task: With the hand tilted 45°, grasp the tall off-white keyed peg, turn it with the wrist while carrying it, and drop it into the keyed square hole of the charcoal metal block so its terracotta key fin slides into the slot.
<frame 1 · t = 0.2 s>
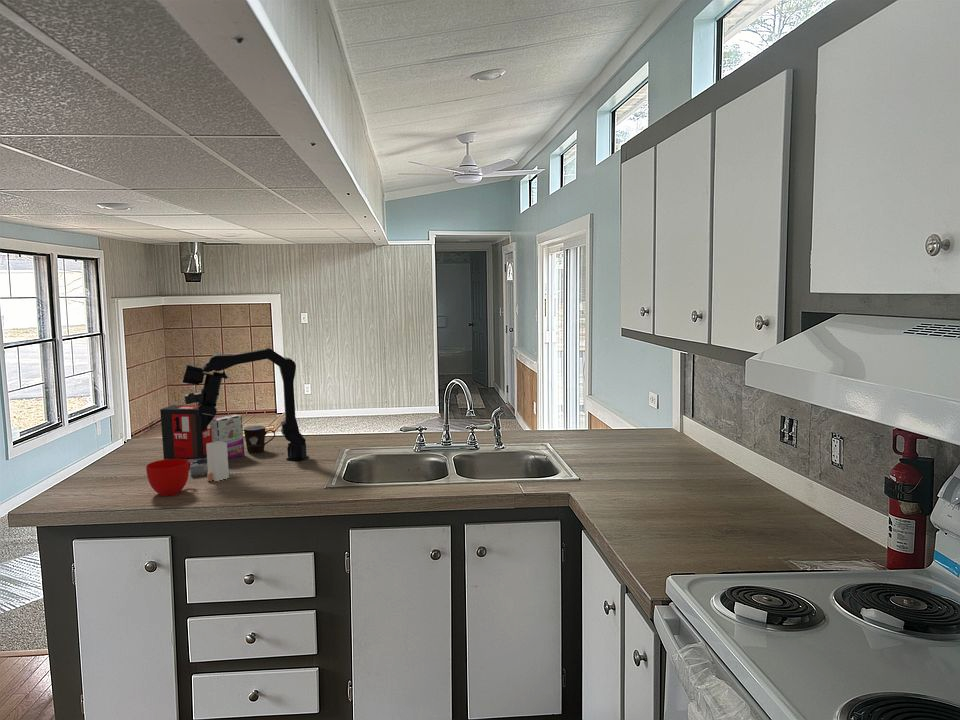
hand: (202, 428, 260), 15 cm above the worktop, tool tilted 15°, fingers open, 9 cm apart
ceramic cup: (173, 491, 235), on the worktop
keyed peg: (218, 479, 248), on the worktop
candy bar box: (229, 458, 278), on the worktop
coffee mug: (259, 452, 286), on the worktop
cleaning product box: (189, 456, 281), on the worktop
keyed socket block: (207, 470, 260), on the worktop
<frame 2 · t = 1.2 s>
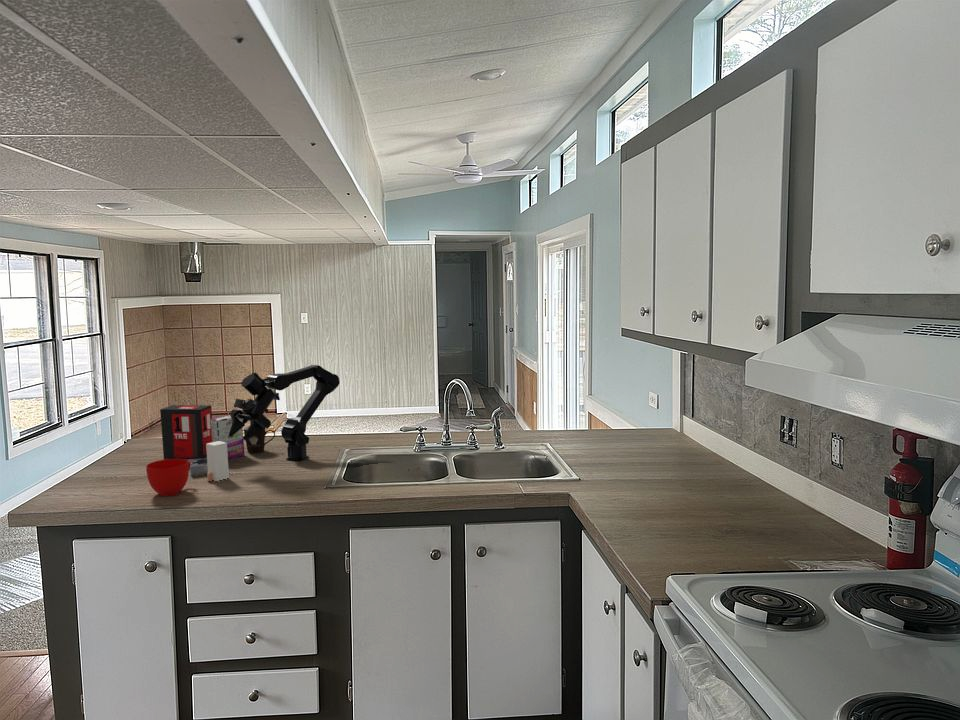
hand: (236, 437, 253), 13 cm above the worktop, tool tilted 45°, fingers open, 9 cm apart
nothing on the worktop moved.
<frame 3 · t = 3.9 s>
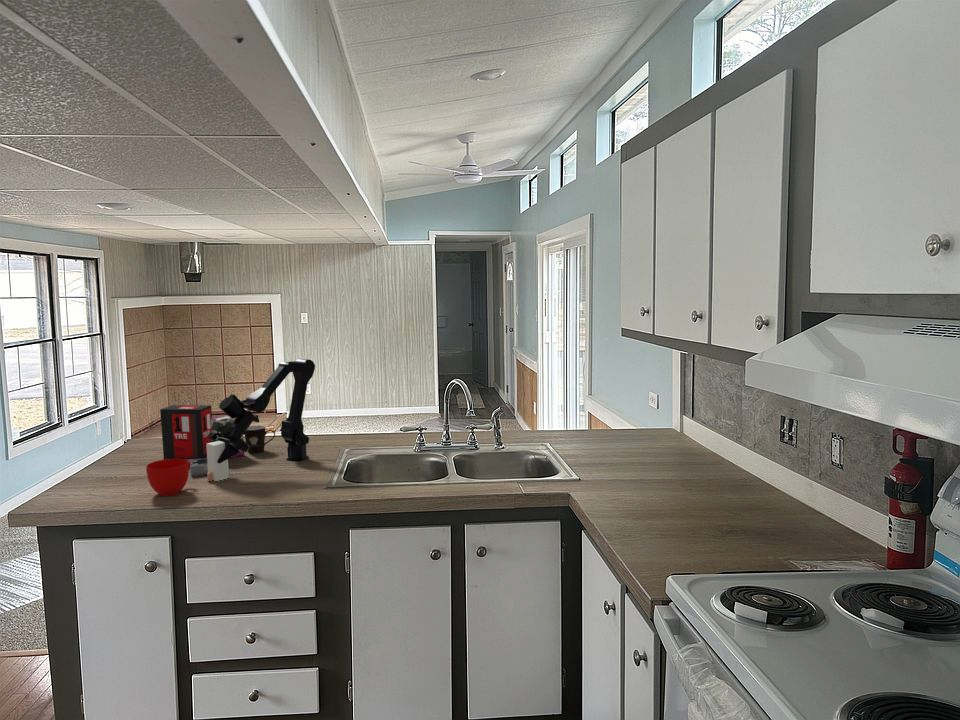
hand: (213, 461, 246), 7 cm above the worktop, tool tilted 45°, fingers closed on keyed peg, 5 cm apart
keyed peg: (218, 479, 248), on the worktop, touching gripper
everything else where it was.
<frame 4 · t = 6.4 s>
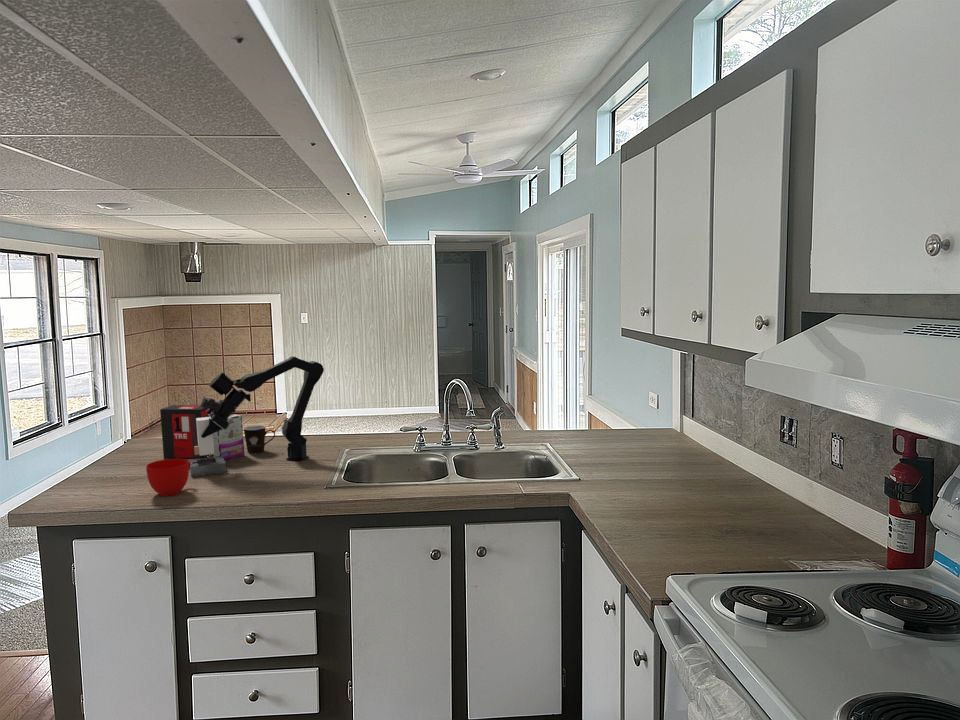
hand: (201, 435, 257), 13 cm above the worktop, tool tilted 45°, fingers closed on keyed peg, 5 cm apart
keyed peg: (206, 453, 258), point 7 cm above the worktop, touching gripper
everything else where it was.
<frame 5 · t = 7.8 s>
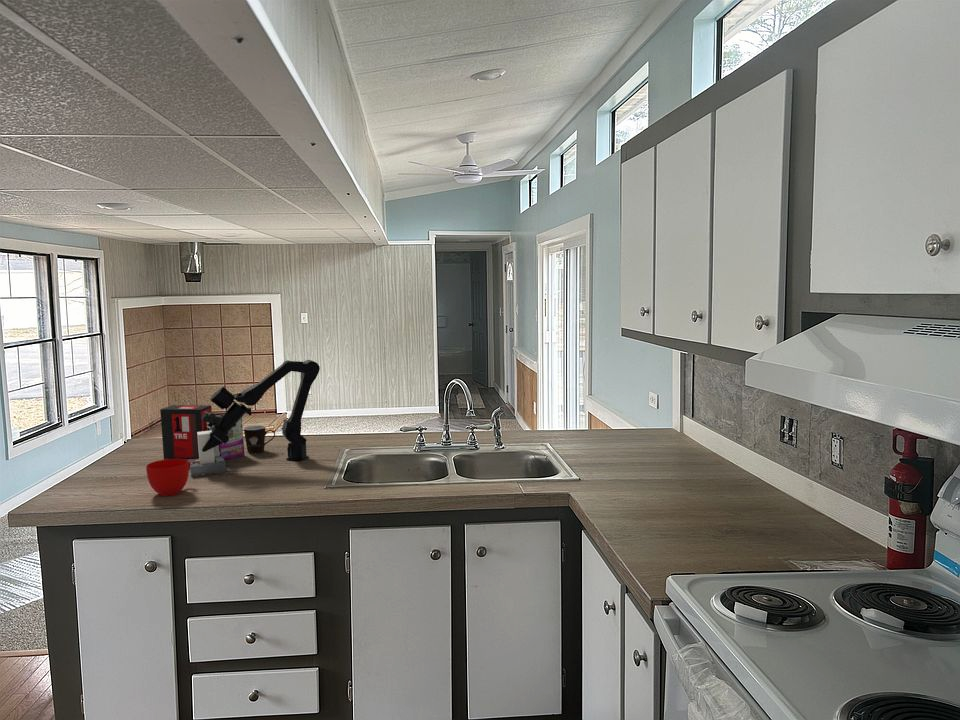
hand: (202, 449, 258), 8 cm above the worktop, tool tilted 45°, fingers closed on keyed peg, 5 cm apart
keyed peg: (207, 466, 260), point 1 cm above the worktop, touching gripper
everything else where it was.
when the fingers open (8 cm above the worktop, at t = 8.9 s): keyed peg drops 1 cm, resting in keyed socket block.
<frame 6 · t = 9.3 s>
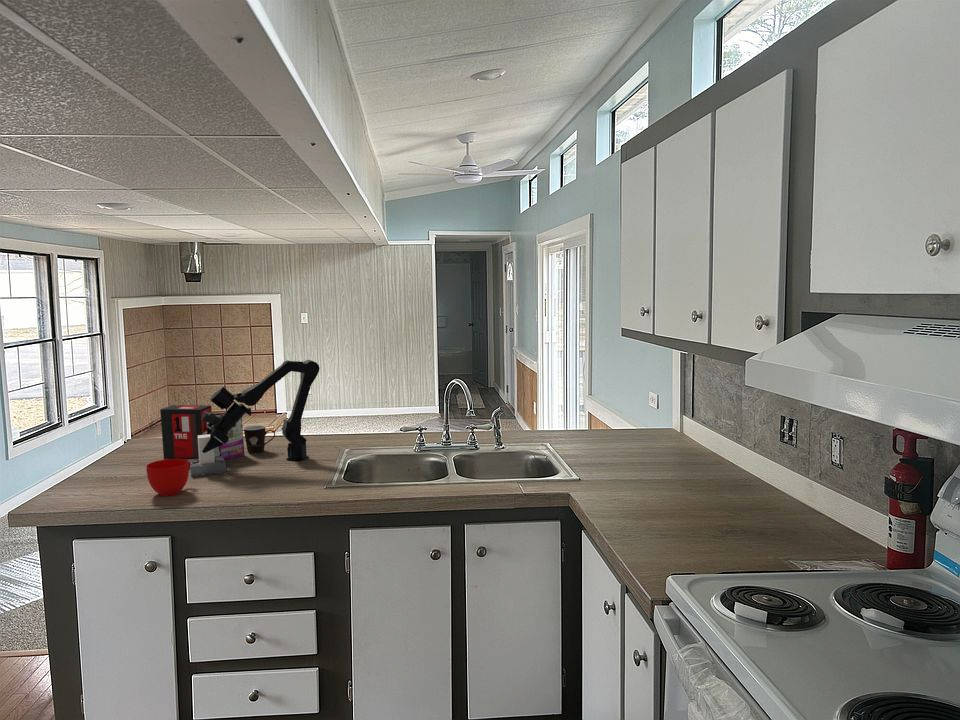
hand: (201, 449, 258), 8 cm above the worktop, tool tilted 45°, fingers open, 9 cm apart
keyed peg: (207, 470, 260), resting in keyed socket block
everything else where it was.
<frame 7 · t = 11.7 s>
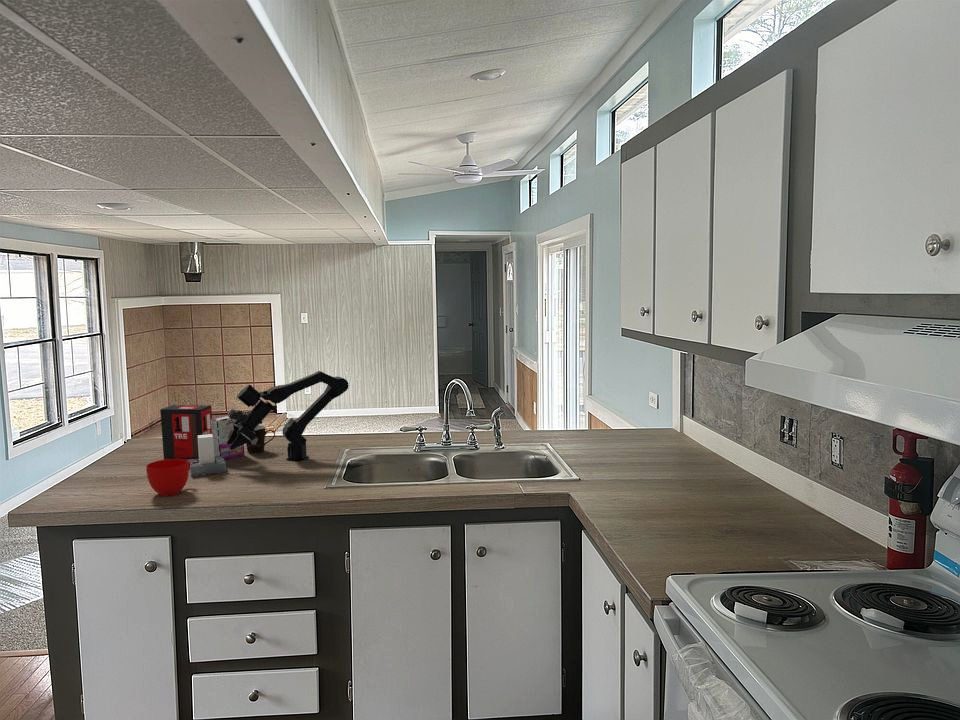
hand: (229, 446, 262), 8 cm above the worktop, tool tilted 45°, fingers open, 9 cm apart
nothing on the worktop moved.
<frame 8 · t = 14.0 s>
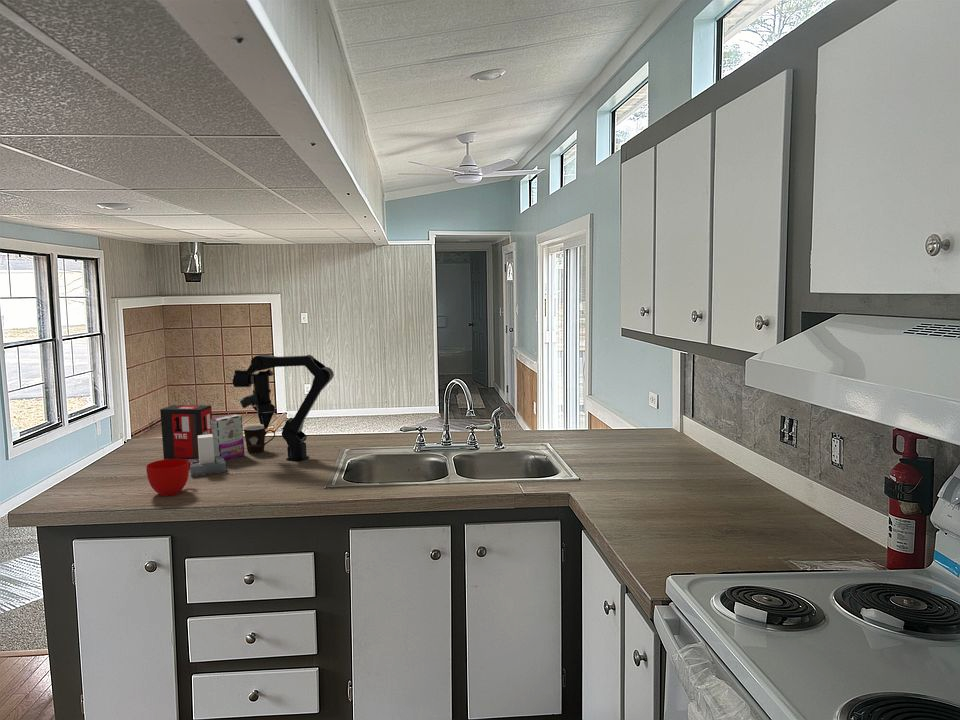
hand: (263, 426, 273), 13 cm above the worktop, tool pointing down, fingers open, 9 cm apart
nothing on the worktop moved.
at the end: keyed peg 0.1 cm off-centre on the keyed socket block, point 0.0 cm above the keyed socket block's base; keyed peg tilted 0°; the gripper is holding nothing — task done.
